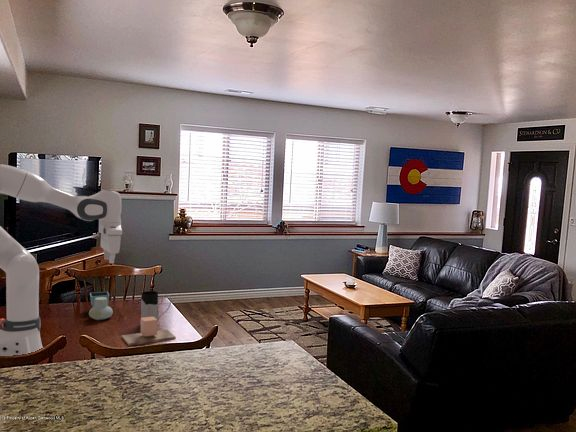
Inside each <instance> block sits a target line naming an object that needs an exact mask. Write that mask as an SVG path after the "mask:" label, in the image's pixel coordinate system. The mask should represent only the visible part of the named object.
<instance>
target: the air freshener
mask: <svg viewBox="0 0 576 432" xmlns="http://www.w3.org/2000/svg"><path fill="white" fill-rule="evenodd" d="M113 313H114V311H113V308H112V307H111V306H109V305H108V306H107V298H106V297H98V298H95V299H94V307H93V308H92V307H91V309H90V310H89V312H88V316H89V317H90V318H91V319H93V320H95V321H104V320H106V319H108V318H110V317H111V316H112V315H113Z"/></svg>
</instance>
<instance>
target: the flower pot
mask: <svg viewBox="0 0 576 432" xmlns="http://www.w3.org/2000/svg"><path fill="white" fill-rule="evenodd" d="M89 297H90V304H91V309H92V308H93V307H94V299H95V298H98V297H106V298H107V306H109V301H110V293H109V291H97V292H96V291H95V292H89Z"/></svg>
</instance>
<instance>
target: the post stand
mask: <svg viewBox="0 0 576 432" xmlns="http://www.w3.org/2000/svg"><path fill="white" fill-rule="evenodd" d="M121 338H122V339H121V340H123V341H124V342H125V344H126V345H128V346H129V347H131V346H137V345H143V344H151V343H157V342H163V341H170V340H176V338H177V336H176V335H174V334H173V333H172V332H171V331H170V330H169V329H168V328H166V329H165V328H164V329H157V335H151V336H143V335H142V334H141V332H137V333H129V334H122V335H121Z"/></svg>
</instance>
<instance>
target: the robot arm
mask: <svg viewBox="0 0 576 432" xmlns="http://www.w3.org/2000/svg"><path fill="white" fill-rule="evenodd" d="M0 194H3V195H7V196H10V197H13V198H16V199H18V200H21V201H25V202H31V203H48V204H51V205H55V206H57V207H59V208H63V209H65V210H68V211H69V212H70V213H71V214H72V215H73V216H75V218H78V219H80V220H83V221H86V222H92V221H95V220H98V233H99V234H100V248H101V249H103V255H104V256H103V257H104V260H105V261H108V262H109V264H114V263H115V259H116V254H119V253H120V250H121V238H122V237H121V236H122V235H123V229H122V218H121V214H122V212H123V211H122V207H123V206H122V195H121V194H120V193H119V192H118V191H115V190H110V189H106V188H105V189H104V188H103V189H101V190H100V191H98V192H97V193H95V194H92V195H74V194H70V193H68V192H64V191H62V190H60V189H59V188H58V189H57V188H56V187H53V186H52V185H50V184H49V183H48V181H46V179H44V178H42V177H41V176H39V175H37V174H35V173H33V172H31V171H28V170H26V169H23V168H20V167H16V166H12V165H8V164H0ZM0 269H1V270H2V271H4V273H5V283H6V284H5V287H6V289H5V290H6V291H5V293H6V294H5V296H6V297H5V299H6V300H5V301H6V304H5V307H6V318H0V356H13V355H22V354H28V353H31V352H35V351H37V350H39V349H41V348H43V349H44V347H43V344H42V339H41V332H40V331H41V326H42V325H41V317H40V315H39V313H40V312H39V311H40V310H39V309H40V308H39V306H40V305H39V302H40V301H39V299H40V298H39V296H40V295H39V294H40V293H39V292H40V290H39V289H40V267H39V264H38V262H37V260H36V258H35V256H33V255H32V253H30V252H29V251H28V250H27V249H26V248H25V247H24V246H22V245H21V244H20V242H18V241H17V240H16V239H15V238H14V237H13V236H12V235H10V234H9V233H8V232H7V231H6V230H5V229H4V228H3V227H2V226H1V225H0Z"/></svg>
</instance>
